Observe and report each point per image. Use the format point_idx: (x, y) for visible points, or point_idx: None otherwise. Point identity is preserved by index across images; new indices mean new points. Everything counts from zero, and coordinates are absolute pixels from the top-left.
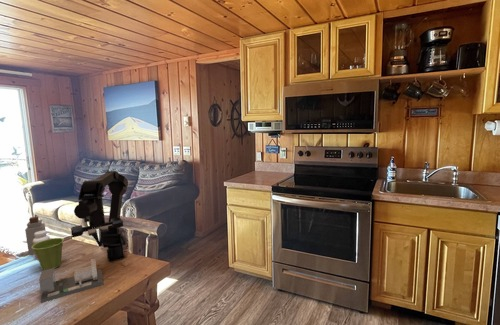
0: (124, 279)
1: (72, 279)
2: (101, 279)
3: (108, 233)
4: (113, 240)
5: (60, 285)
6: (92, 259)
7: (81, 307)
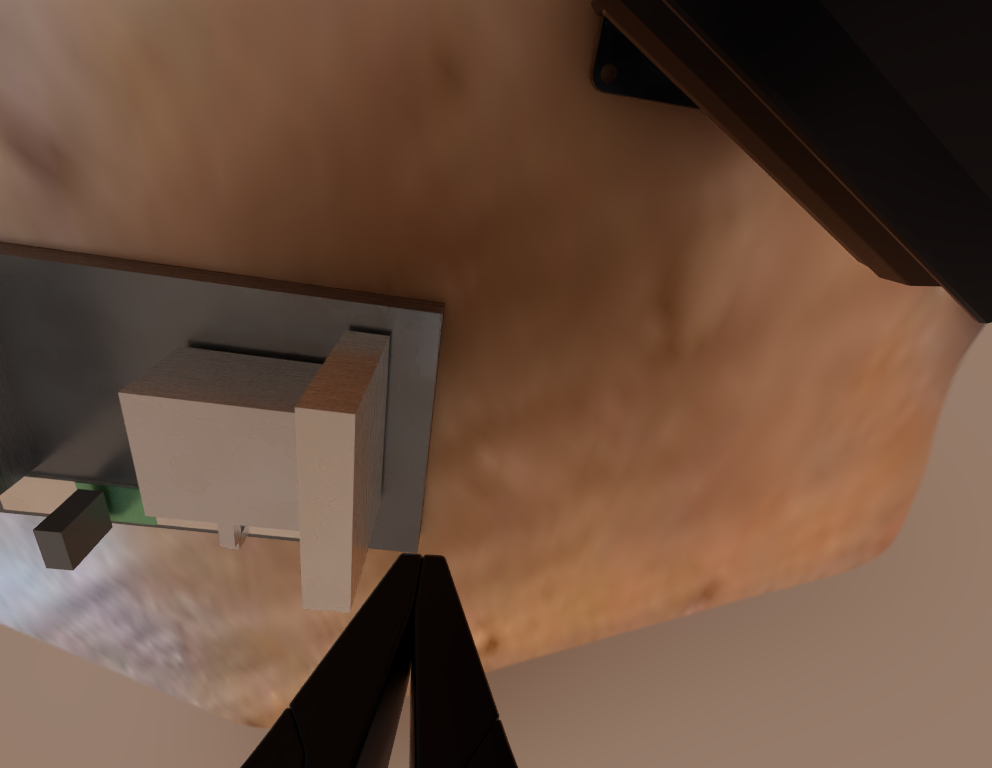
0: (566, 557)
1: (154, 342)
2: (410, 513)
3: (943, 41)
4: (818, 222)
5: (59, 566)
6: (318, 425)
7: (274, 667)
